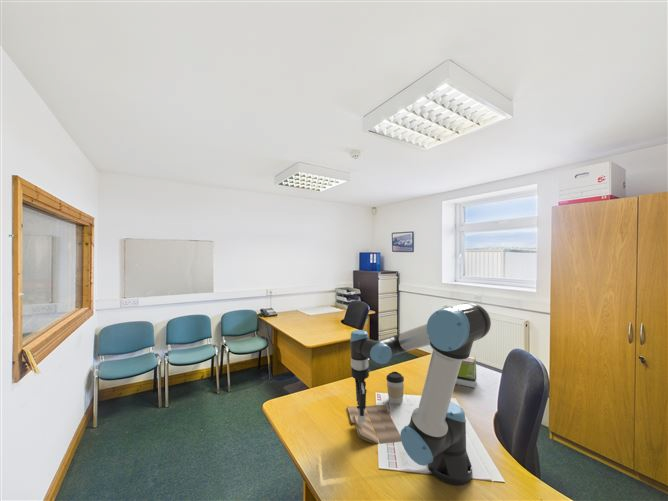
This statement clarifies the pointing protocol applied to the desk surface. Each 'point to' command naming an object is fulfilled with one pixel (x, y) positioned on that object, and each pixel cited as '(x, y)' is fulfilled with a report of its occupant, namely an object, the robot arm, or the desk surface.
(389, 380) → the coffee cup
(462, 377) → the tea box
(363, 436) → the plank near
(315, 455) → the desk surface
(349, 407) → the plank far
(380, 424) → the laid board
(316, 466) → the desk surface
